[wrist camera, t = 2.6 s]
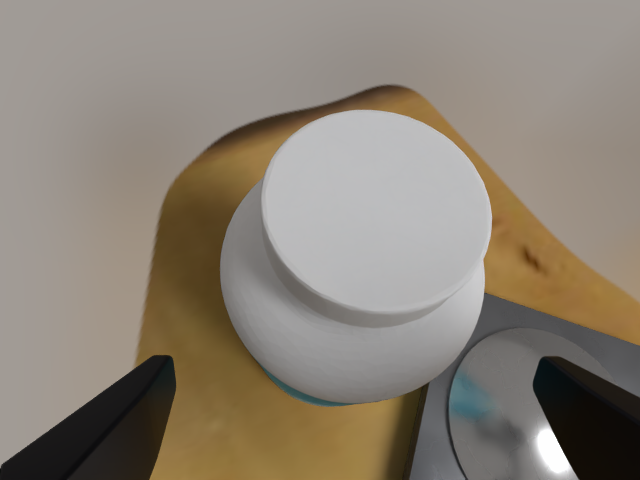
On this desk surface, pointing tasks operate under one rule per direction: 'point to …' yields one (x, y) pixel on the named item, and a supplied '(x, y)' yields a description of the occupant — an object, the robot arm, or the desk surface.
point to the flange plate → (507, 397)
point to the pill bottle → (358, 259)
